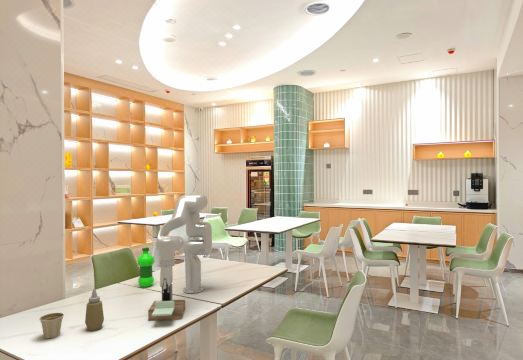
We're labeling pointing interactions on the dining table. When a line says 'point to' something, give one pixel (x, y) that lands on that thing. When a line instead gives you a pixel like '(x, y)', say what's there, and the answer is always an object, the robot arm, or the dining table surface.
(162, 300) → the plug
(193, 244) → the robot arm
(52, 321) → the flower pot
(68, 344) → the dining table surface
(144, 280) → the plastic bottle
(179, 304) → the socket
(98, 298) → the squeeze bottle
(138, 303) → the dining table surface
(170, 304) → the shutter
